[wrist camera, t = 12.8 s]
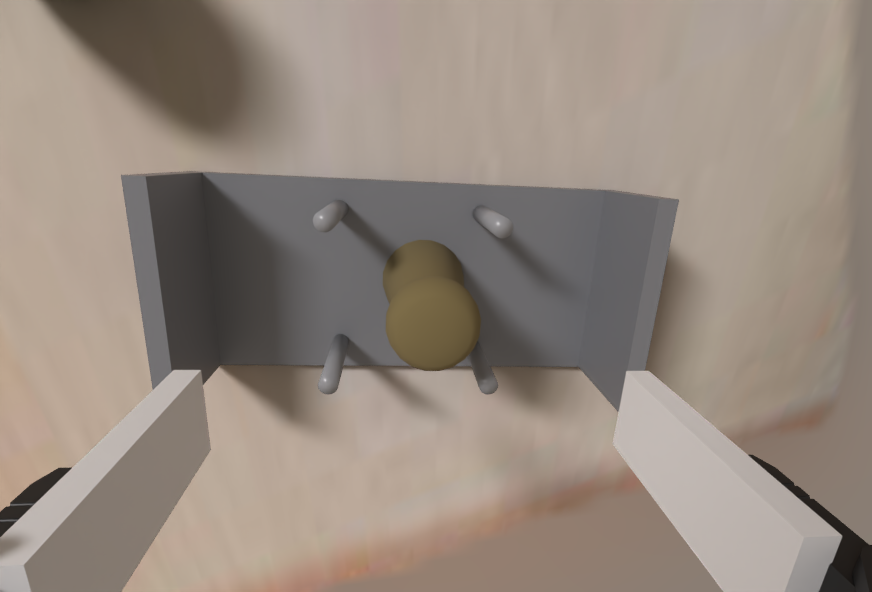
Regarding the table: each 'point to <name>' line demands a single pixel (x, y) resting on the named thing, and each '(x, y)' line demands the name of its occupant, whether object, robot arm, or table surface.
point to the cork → (429, 306)
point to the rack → (364, 264)
